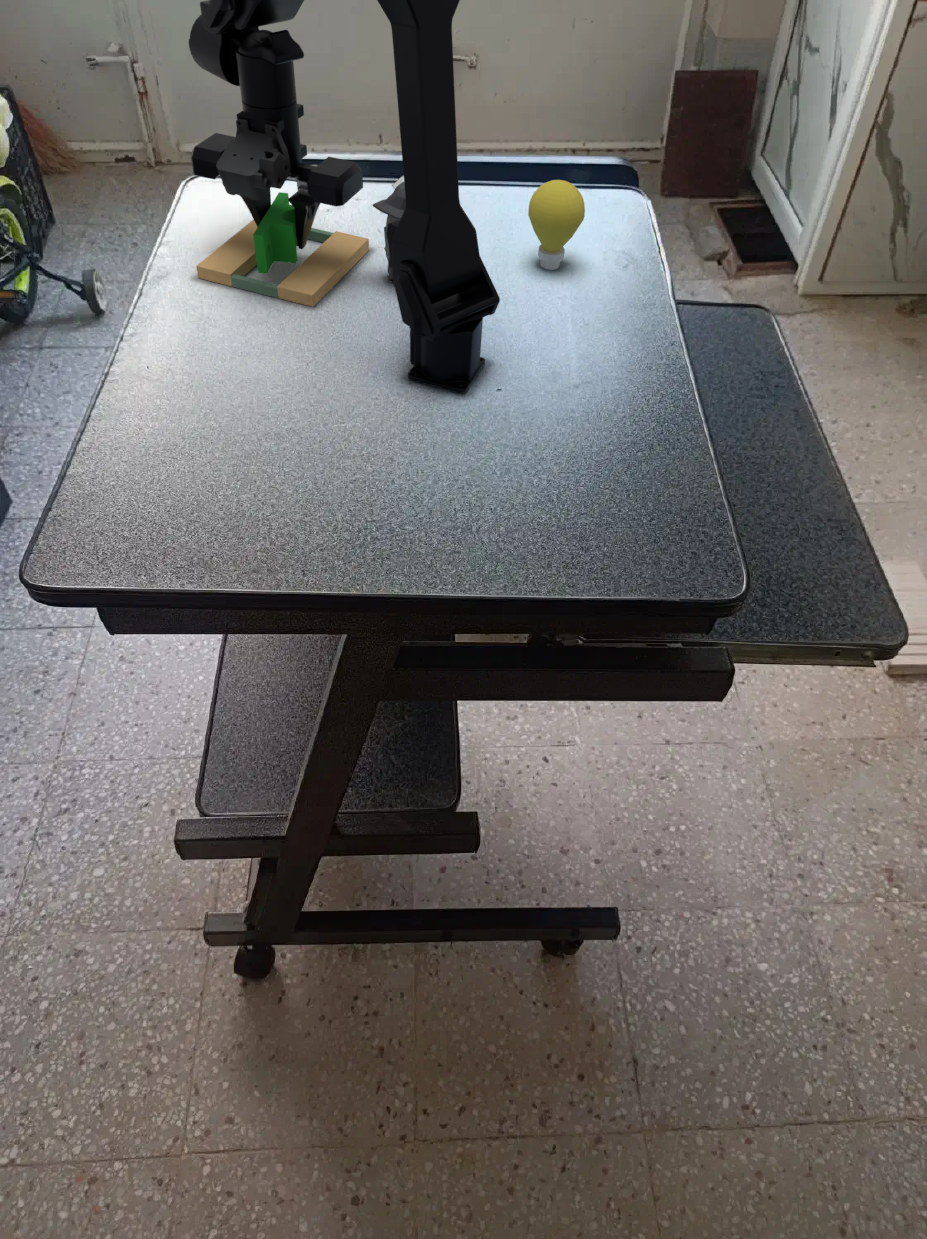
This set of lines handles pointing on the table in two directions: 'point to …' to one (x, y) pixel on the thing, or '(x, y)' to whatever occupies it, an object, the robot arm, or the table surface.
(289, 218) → the pipe clamp
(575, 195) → the light bulb
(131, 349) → the table surface
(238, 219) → the table surface
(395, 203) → the wizard figurine
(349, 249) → the square wooden frame
